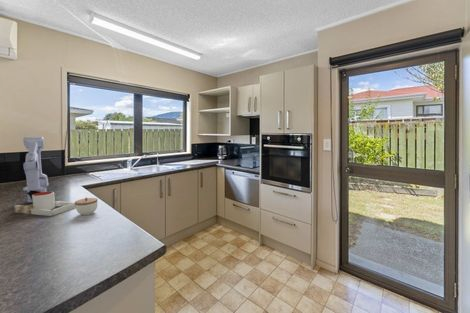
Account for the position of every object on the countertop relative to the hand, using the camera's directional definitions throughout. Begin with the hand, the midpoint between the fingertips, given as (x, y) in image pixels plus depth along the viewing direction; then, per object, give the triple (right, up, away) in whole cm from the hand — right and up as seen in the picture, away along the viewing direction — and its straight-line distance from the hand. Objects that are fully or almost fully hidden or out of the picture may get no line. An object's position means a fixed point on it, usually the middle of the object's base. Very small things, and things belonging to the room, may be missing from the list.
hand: (35, 202), depth 134 cm
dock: (+14, -4, -3) cm, 15 cm away
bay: (0, -4, 0) cm, 4 cm away
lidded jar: (+38, -5, -8) cm, 39 cm away
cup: (+7, -4, -1) cm, 8 cm away
